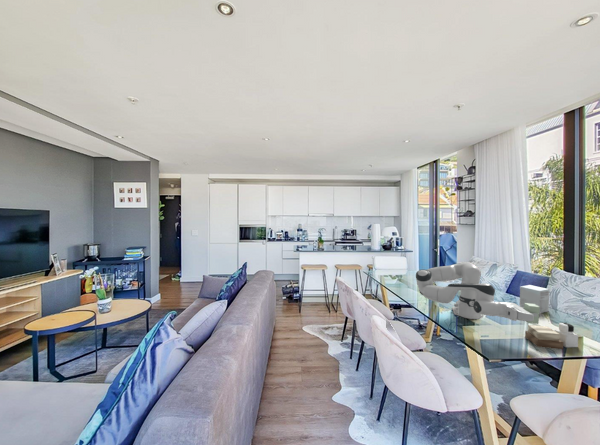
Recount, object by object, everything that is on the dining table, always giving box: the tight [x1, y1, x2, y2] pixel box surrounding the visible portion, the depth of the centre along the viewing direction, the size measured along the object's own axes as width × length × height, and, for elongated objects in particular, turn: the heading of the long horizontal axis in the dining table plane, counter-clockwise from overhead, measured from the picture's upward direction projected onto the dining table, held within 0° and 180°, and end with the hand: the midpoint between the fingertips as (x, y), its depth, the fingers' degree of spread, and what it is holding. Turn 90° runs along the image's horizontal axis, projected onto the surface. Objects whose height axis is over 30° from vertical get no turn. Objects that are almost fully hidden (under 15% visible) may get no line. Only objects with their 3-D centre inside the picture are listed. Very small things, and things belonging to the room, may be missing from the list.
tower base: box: [524, 330, 564, 350], centre depth 155 cm, size 12×12×4 cm
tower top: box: [527, 324, 560, 341], centre depth 155 cm, size 10×10×4 cm
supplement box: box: [519, 284, 550, 314], centre depth 208 cm, size 13×13×18 cm
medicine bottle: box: [553, 322, 579, 348], centre depth 154 cm, size 7×7×12 cm
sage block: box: [524, 303, 540, 325], centre depth 155 cm, size 5×5×10 cm
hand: (533, 312), depth 154 cm, fingers closed on sage block, 5 cm apart
